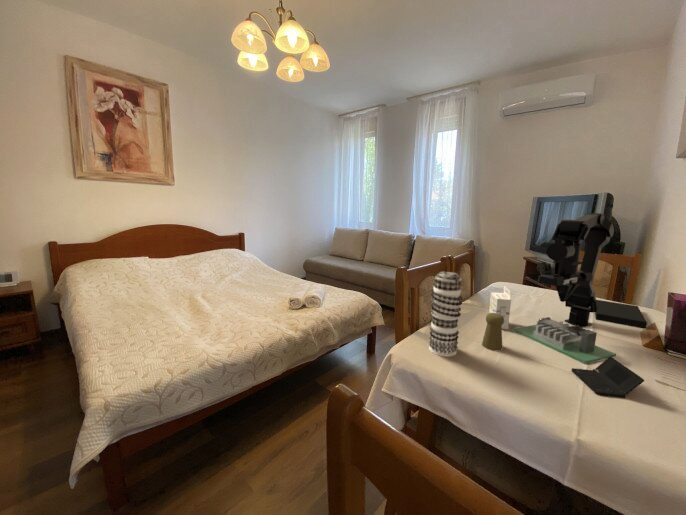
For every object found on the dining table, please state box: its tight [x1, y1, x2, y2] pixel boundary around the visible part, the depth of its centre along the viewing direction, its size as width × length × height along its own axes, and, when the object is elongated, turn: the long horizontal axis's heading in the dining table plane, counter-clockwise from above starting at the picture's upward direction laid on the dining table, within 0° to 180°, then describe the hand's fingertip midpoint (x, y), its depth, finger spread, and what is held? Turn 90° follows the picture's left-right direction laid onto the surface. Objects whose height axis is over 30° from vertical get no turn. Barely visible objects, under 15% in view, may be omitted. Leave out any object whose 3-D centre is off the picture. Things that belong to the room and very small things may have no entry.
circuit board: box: [512, 324, 617, 365], centre depth 97 cm, size 14×24×1 cm, turn 19°
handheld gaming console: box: [571, 357, 645, 399], centre depth 74 cm, size 12×7×10 cm
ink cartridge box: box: [488, 285, 512, 330], centre depth 110 cm, size 9×5×15 cm, turn 168°
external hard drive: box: [594, 299, 648, 330], centre depth 121 cm, size 14×23×3 cm, turn 141°
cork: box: [481, 313, 504, 351], centre depth 93 cm, size 6×6×11 cm
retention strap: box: [538, 316, 587, 336], centre depth 96 cm, size 4×12×2 cm, turn 19°
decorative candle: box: [428, 271, 463, 358], centre depth 89 cm, size 9×9×25 cm
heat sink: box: [533, 320, 598, 353], centre depth 96 cm, size 12×16×6 cm
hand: (562, 301), depth 100 cm, fingers closed
